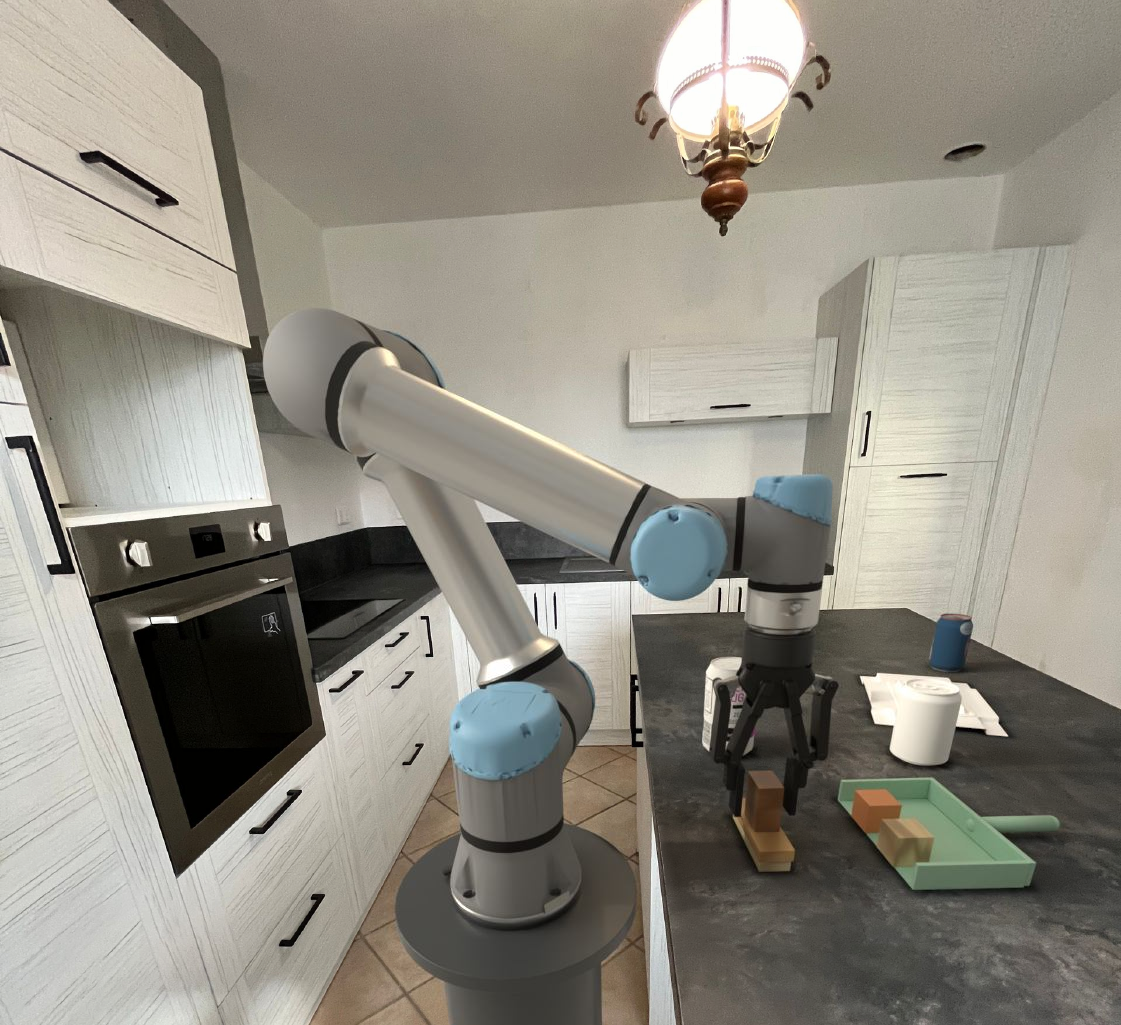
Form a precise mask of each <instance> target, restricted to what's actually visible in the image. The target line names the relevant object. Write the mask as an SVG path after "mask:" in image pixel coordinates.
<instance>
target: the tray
mask: <svg viewBox="0 0 1121 1025" xmlns="http://www.w3.org/2000/svg"><path fill="white" fill-rule="evenodd" d="M859 678H860V681H861V682H860V683H861V684H862V685H864V688H865V691H866V693H867V697H868V700H869V703H870V706H871V709H870V713H871V716H872V719H873V722H874V724H875V725H884V726H893V727H894V722H895V716H896V711H897V706H898V700H899V695H900V690H901V689H902V687H903V686H905V683H906V681H908V680H911V679H935V680H941V681H945V682H948V683H951V684H954V685H956V686H957V687H959V689H960V692H959V693H960V694H961V697H962V701H961V706H960V710H959V714H958V719H957V723H956V727H957V728H958V727H959V728H968V729H969V728H971V729H981V730H983V731H984V733H985V734H986V735H988V736H998V737H999V736H1001V737H1009V735H1008V734H1007V732H1006V731H1005V730H1004V729H1003V727H1002V726H1001V725H1000V724H999V722H1000V717H999V716H998V714H997V713H996V712H995V711H994V709H993V708H992V707H991V706H990V705H989V704H988V703H987V701H986V699H984V697H983V696H982V695H981V694H980V692H979V691H978V690H977V689H976V688H971V687H970V685H969V684H968V683H965V682H953V681H951V679H950V678H949V677H942V676H941V677H940V676H926V675H915V674H914V675H912V674H911V675H910V674H900V673H899V674H896V673H884V672H877V673H876V676H865V675H859Z"/></svg>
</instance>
